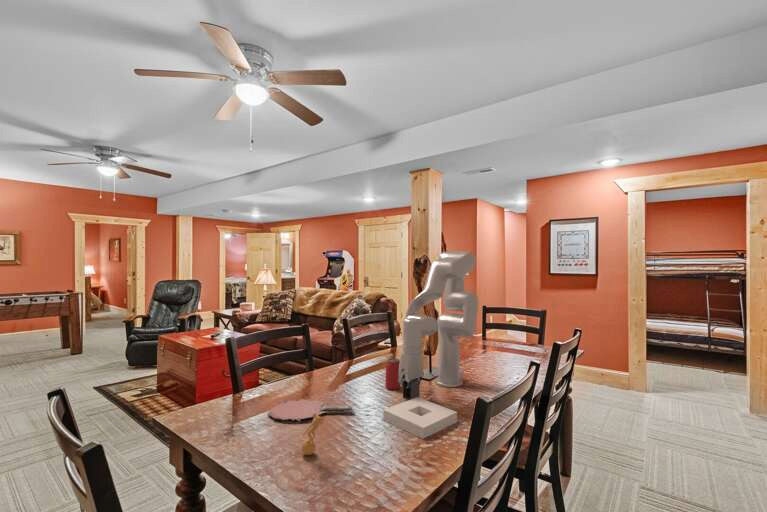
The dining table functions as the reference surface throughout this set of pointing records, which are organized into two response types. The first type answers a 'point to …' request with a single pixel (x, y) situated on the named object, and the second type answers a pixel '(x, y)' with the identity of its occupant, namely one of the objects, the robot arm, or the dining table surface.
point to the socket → (420, 417)
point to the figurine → (309, 444)
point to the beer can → (392, 374)
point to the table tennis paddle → (304, 410)
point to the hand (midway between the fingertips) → (411, 395)
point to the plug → (413, 389)
